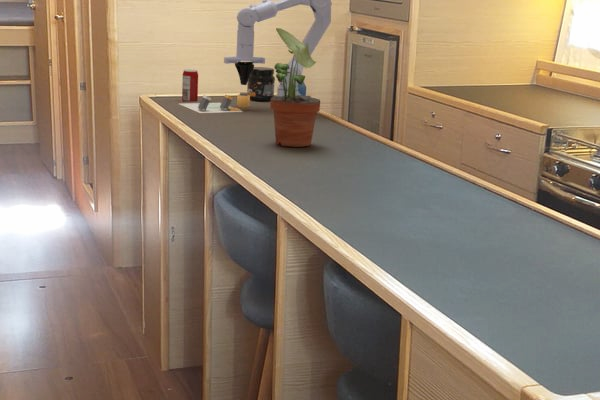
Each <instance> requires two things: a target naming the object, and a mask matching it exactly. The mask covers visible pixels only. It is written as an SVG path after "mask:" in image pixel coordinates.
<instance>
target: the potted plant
mask: <svg viewBox="0 0 600 400" xmlns="http://www.w3.org/2000/svg"><path fill="white" fill-rule="evenodd" d="M275 29H276V32H277V34H278V36H279V37H280V39H281V40H282V41H283V43H284V44H285V45H286V47H287V48H288V50H287V51H288V53H290V54H292V58H293V61H292V66H291V71H290V72H288V71H287V67H288V66H289V65H288V63H282V62H277V63H275V65H274V68H273V69H274V70H275V72H276V75H275V79H276V78H277V79H276V80H277V81H278V83H279V82H282V80H283V90H284V96H277V95H275V96H274V97H271V100H270V101H269V102H270V109H271V110H272V111H273V121H274V123H273V124H274V135H275V143H276V144H277V146H278V145H280V146H282V147H296V148H299V147H308V146H311V145H312V140H313V134H314V129H315V124H316V119H317V114H318V113H319V112H320V109H321V99H320V98H315V97H312V96H311V95H306V96H304V95H295V91H296V81H297V83H298V84H301V85H302V83H303V82H304V81H305V78H306V76H305V75H303V74H301V75H297V71H298V62H299V63H300V65H302V66H303V68H305V69H308V68H310V69H311V68H312V67H313V66H314V65H315V64H316V63H317V61H315V60H314V59H313V58H312V55H311V56H310V55H309V51H308V44H307V45H305V46H304V44H302V41H300V40H299V39H298V38H296V37H295V35H293V34H291V33H290V32H289V31H287V30H285V29H282V28H279V27H278V28H275ZM294 55H295V57H296V59H297V61H298V62H297V61H296V64H297V71H296V76H295V75H294V73H295V68H296V64H295V67H294V71H293V75H292V69H293V62H294ZM287 73H290V78H289V86H288V95H287V81H286V78H285V77H286V76H287ZM291 78H292V81H291ZM284 80H285V83H284ZM293 80H294V83H293ZM285 84H286V89H285Z"/></svg>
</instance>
